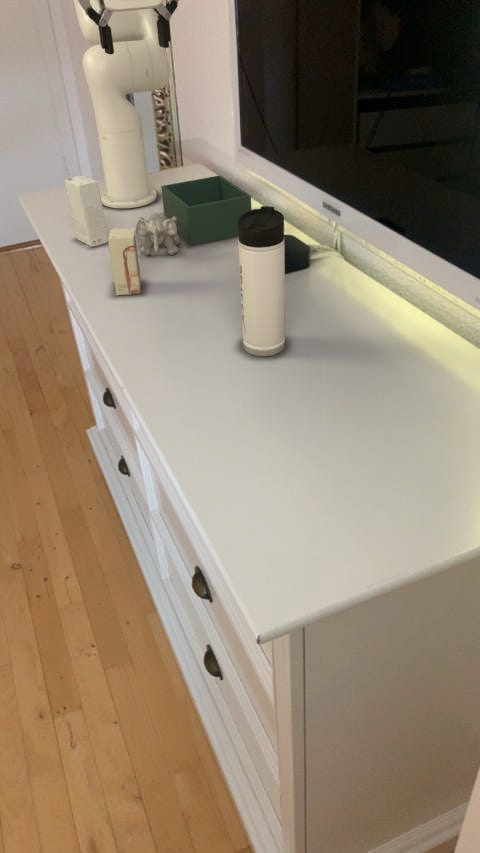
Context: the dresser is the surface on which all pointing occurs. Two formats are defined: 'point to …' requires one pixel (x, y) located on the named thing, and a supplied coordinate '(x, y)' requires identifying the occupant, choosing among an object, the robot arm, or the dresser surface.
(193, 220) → the bin
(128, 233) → the cream printed box
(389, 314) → the dresser surface
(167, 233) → the gray elephant figurine
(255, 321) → the travel mug
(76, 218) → the cosmetic box
